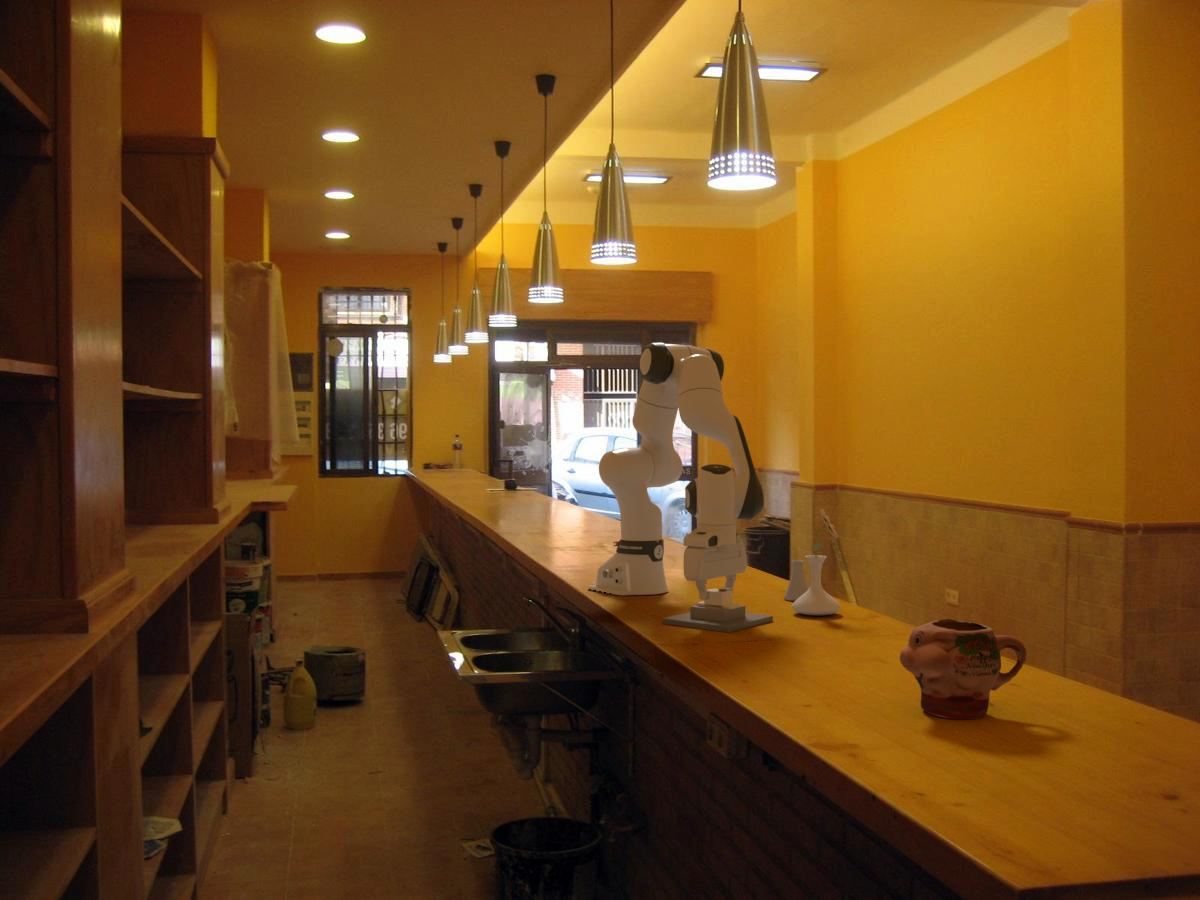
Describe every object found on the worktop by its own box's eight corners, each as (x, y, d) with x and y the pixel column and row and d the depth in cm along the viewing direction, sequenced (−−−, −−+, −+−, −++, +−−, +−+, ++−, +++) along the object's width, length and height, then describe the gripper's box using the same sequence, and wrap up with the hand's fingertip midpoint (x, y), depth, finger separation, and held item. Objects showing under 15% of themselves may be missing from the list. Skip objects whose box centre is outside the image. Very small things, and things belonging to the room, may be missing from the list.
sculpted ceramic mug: (1003, 699, 187) (1003, 615, 186) (1043, 719, 175) (1043, 628, 174) (887, 705, 184) (887, 619, 183) (920, 725, 171) (920, 633, 171)
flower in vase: (827, 620, 262) (827, 511, 262) (783, 615, 269) (782, 509, 268) (851, 612, 273) (851, 508, 272) (808, 608, 279) (808, 506, 279)
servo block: (696, 615, 262) (696, 587, 262) (706, 613, 265) (706, 585, 265) (730, 620, 256) (730, 591, 256) (740, 617, 259) (740, 589, 259)
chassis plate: (662, 623, 260) (662, 607, 259) (708, 613, 273) (708, 597, 273) (728, 632, 248) (728, 615, 248) (772, 621, 261) (772, 605, 261)
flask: (814, 602, 289) (814, 562, 289) (785, 602, 289) (785, 562, 289) (809, 597, 296) (809, 559, 296) (781, 597, 296) (781, 559, 296)
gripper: (730, 531, 270) (730, 589, 270) (678, 538, 255) (678, 600, 255) (753, 533, 266) (753, 592, 266) (701, 541, 250) (701, 603, 251)
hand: (716, 596), depth 260 cm, fingers open, 8 cm apart
